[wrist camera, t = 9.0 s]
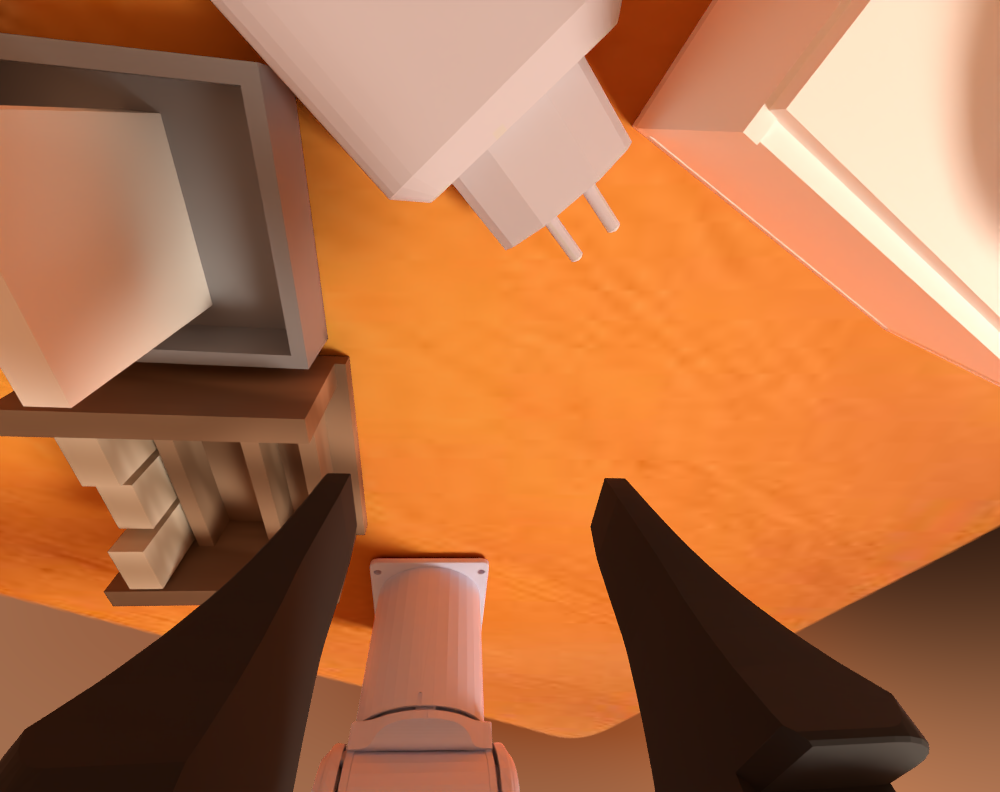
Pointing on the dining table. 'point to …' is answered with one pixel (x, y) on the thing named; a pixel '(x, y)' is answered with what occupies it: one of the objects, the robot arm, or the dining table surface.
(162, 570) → the offcuts
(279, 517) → the rack
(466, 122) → the charger
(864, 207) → the white lidded square jar
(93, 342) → the sheet
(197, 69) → the tray
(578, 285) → the dining table surface
